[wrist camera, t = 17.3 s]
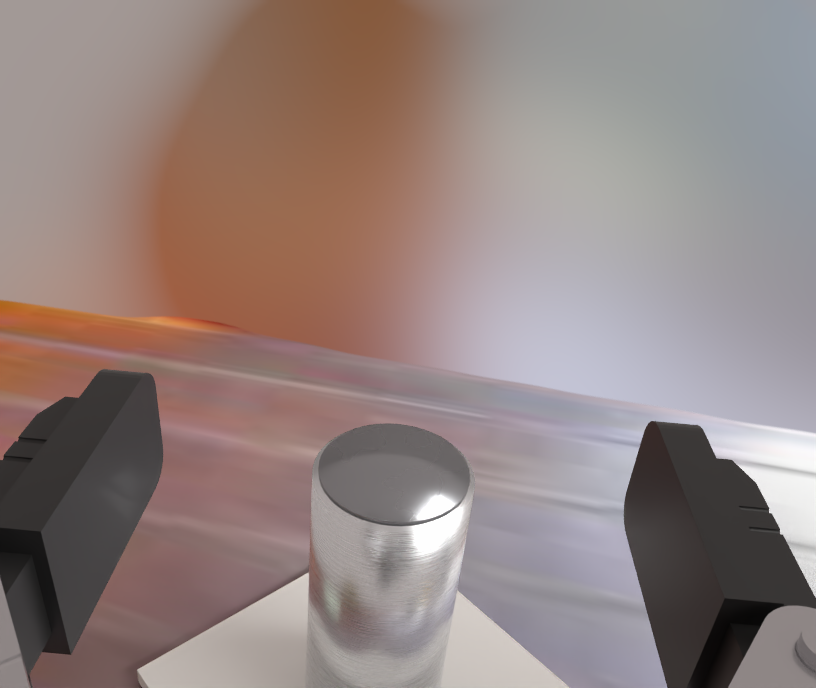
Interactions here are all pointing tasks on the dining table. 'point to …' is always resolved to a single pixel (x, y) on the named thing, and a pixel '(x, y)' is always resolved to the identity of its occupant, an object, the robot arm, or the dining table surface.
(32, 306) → the dining table surface
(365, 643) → the can
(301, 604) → the tile
